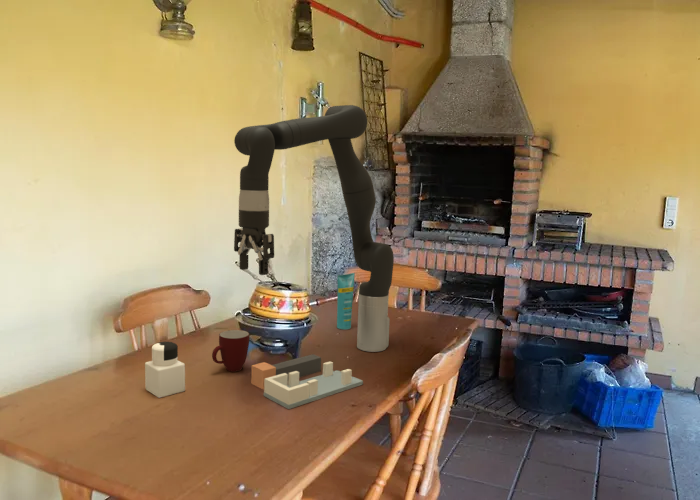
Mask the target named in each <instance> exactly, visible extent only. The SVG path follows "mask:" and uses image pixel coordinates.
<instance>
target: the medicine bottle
mask: <svg viewBox="0 0 700 500" xmlns="http://www.w3.org/2000/svg"><path fill="white" fill-rule="evenodd" d="M178 349H179V348H178V345H177V343H175V342H173V341H159V342H157V343H155V344H153V345H152V346H151V360H149V361H146V362H144V373H145V374H144V375H145V376H144V379H145V381H144V382H145V384H144V385H145V390H146V391H148V392H149V393H150V394H152V395H153V396H155V397H157V398H158V399H159V398H160V399H161V398H164V397H169V396H171V395H175V394H179V393H182V392H185V391H186V365H185V364H186V363H184V362H182V361H180V360H178V359H179V357H178V355H179V354H178V353H179V352H178V351H179V350H178Z"/></svg>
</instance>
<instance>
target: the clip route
mask: <svg viewBox="0 0 700 500" xmlns="http://www.w3.org/2000/svg"><path fill="white" fill-rule="evenodd" d="M352 371H353V370H352V369H350V368H347V369H344V370H341V371H340V370H334V362H332V361H326V362H324V363H322V374H320V375H317V376H313V377H310V378H306V379H303V380H300V377H299V372H298V371H294V372H290V373H289V378H288V374H286V373H283V374H279V375H276V376H272V377H269V378H265V379H264V389H263V397H265V398H266V399H268V400H271V401H272V402H274V403H276V404H278V405H280V406H281V407H284V408H285V409H287V410H292V409H294V408H297V407H299V406H303V405H305V404H309V403H311V402H314V401H318V400H320V399H324V398H326V397H330V396H333V395H335V394H339V393H341V392H345V391H347V390H351V389H354V388H357V387H359V386H362V385H364V380H362V379H360V378H357V377H354V376H352V375H353V373H352Z"/></svg>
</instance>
